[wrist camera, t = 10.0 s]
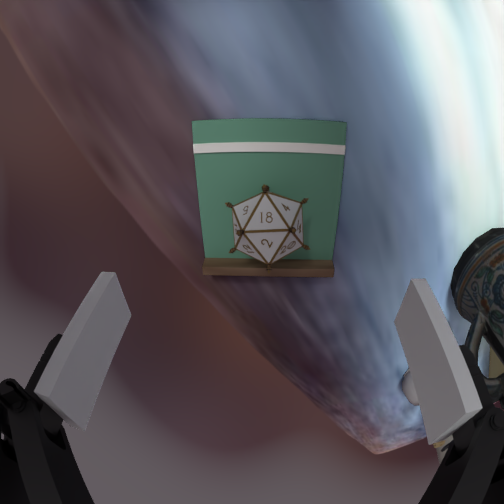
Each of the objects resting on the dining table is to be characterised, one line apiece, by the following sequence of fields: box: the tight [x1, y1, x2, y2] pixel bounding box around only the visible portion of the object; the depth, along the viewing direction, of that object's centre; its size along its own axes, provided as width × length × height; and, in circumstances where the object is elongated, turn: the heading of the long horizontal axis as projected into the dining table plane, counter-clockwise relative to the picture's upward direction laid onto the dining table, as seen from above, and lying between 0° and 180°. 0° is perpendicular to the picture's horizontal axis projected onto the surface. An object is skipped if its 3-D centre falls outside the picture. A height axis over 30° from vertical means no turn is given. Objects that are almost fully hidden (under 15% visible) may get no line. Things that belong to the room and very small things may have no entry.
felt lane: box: [192, 118, 347, 260], centre depth 33 cm, size 17×16×1 cm
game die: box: [225, 184, 310, 273], centre depth 30 cm, size 9×8×10 cm
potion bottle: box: [402, 369, 445, 448], centre depth 43 cm, size 9×9×18 cm
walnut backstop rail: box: [202, 258, 335, 277], centre depth 37 cm, size 1×16×2 cm, turn 91°
